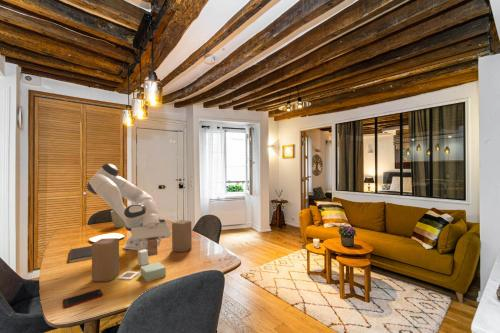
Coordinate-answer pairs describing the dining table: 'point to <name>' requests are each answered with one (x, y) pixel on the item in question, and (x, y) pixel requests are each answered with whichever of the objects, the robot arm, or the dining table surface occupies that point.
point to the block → (181, 236)
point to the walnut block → (152, 246)
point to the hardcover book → (80, 254)
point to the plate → (106, 236)
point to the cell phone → (82, 298)
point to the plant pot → (117, 220)
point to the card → (128, 275)
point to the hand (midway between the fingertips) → (152, 246)
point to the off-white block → (143, 257)
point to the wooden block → (105, 259)
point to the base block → (153, 271)
